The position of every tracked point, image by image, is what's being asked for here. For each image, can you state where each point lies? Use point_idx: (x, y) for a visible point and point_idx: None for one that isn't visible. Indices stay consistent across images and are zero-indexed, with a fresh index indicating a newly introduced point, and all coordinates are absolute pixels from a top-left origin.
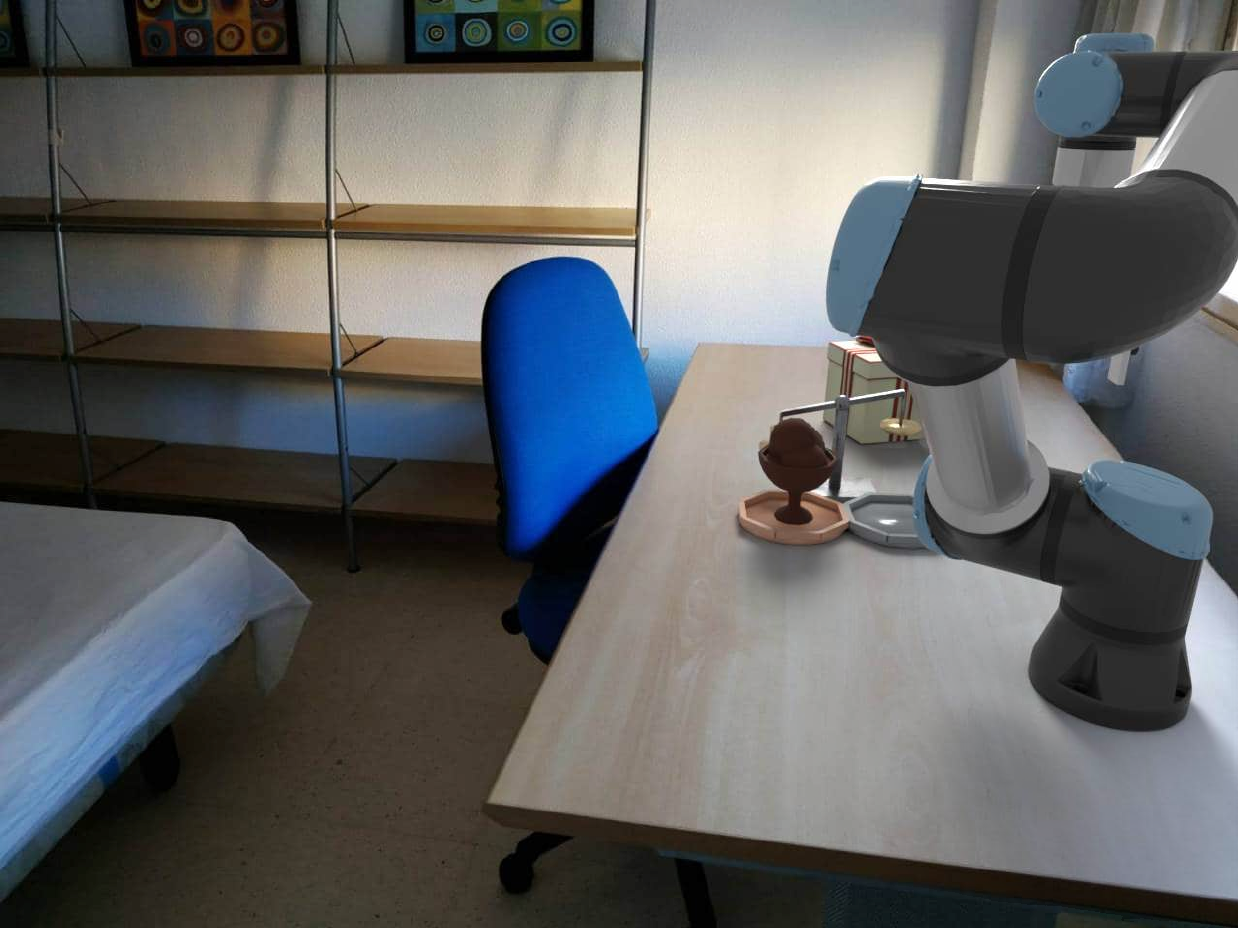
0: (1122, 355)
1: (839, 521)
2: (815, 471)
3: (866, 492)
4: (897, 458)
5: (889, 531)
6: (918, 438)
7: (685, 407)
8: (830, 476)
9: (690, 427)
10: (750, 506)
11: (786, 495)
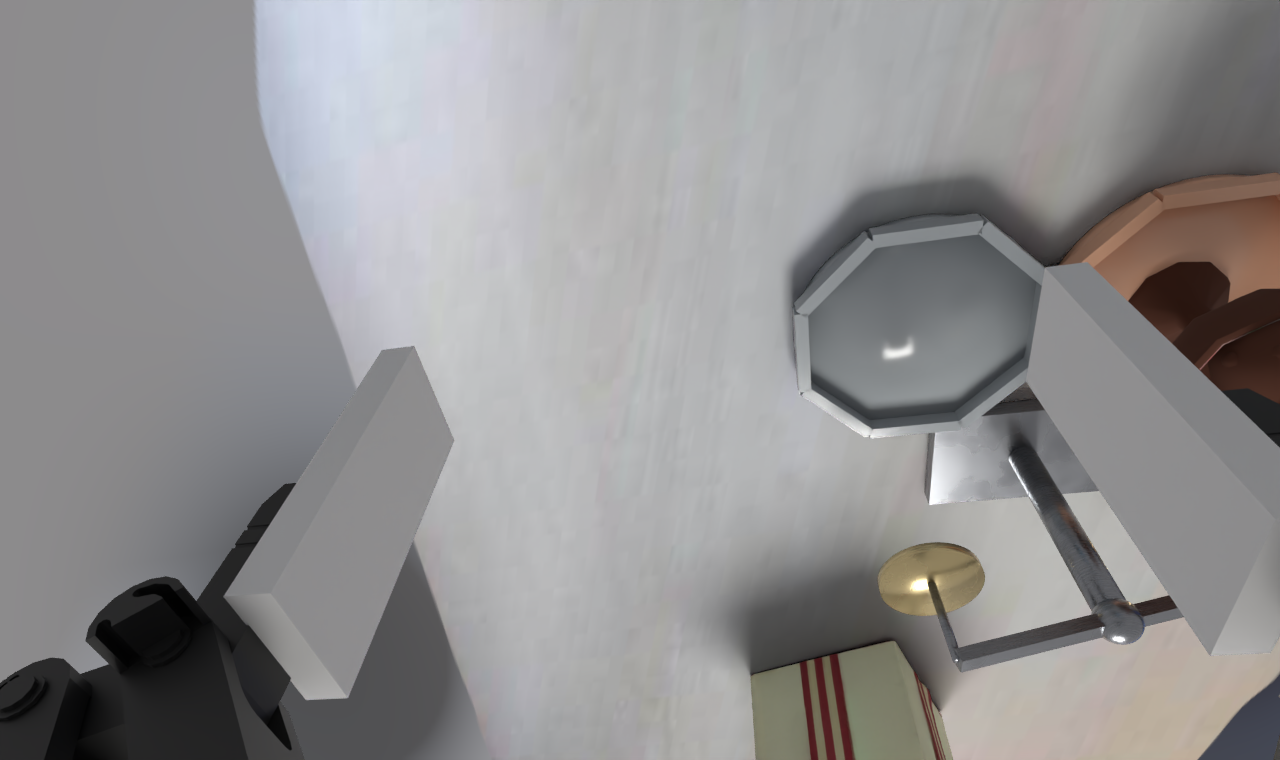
0: (355, 454)
1: None
2: (1272, 309)
3: (957, 440)
4: (834, 600)
5: (955, 273)
6: (777, 669)
7: (1205, 733)
8: None
9: (1231, 665)
10: None
11: None
